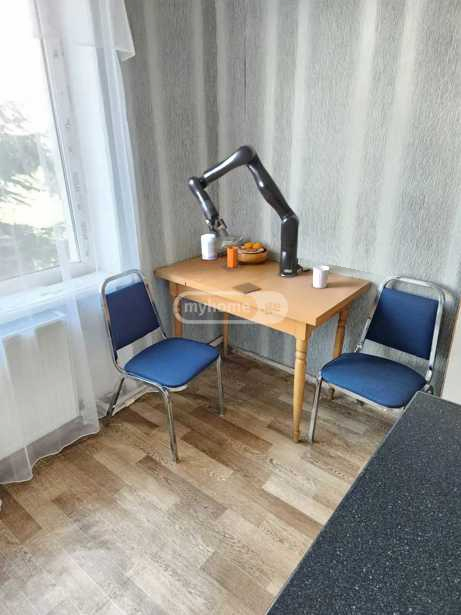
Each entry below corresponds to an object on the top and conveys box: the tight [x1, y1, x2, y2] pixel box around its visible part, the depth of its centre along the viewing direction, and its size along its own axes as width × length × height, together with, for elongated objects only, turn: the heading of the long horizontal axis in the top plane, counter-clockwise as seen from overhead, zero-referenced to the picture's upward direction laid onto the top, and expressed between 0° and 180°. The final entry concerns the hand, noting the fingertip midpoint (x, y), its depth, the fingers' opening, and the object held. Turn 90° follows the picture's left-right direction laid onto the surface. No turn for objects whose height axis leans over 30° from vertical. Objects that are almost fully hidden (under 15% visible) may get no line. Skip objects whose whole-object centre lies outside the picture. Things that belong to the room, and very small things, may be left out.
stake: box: [223, 263, 243, 270], centre depth 231 cm, size 9×9×9 cm
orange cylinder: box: [226, 246, 239, 268], centre depth 230 cm, size 6×6×11 cm
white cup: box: [312, 265, 330, 289], centre depth 203 cm, size 8×8×10 cm
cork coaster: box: [232, 282, 261, 294], centre depth 203 cm, size 10×10×1 cm
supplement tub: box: [200, 233, 218, 260], centre depth 246 cm, size 10×10×15 cm
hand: (222, 236), depth 212 cm, fingers open, 8 cm apart
